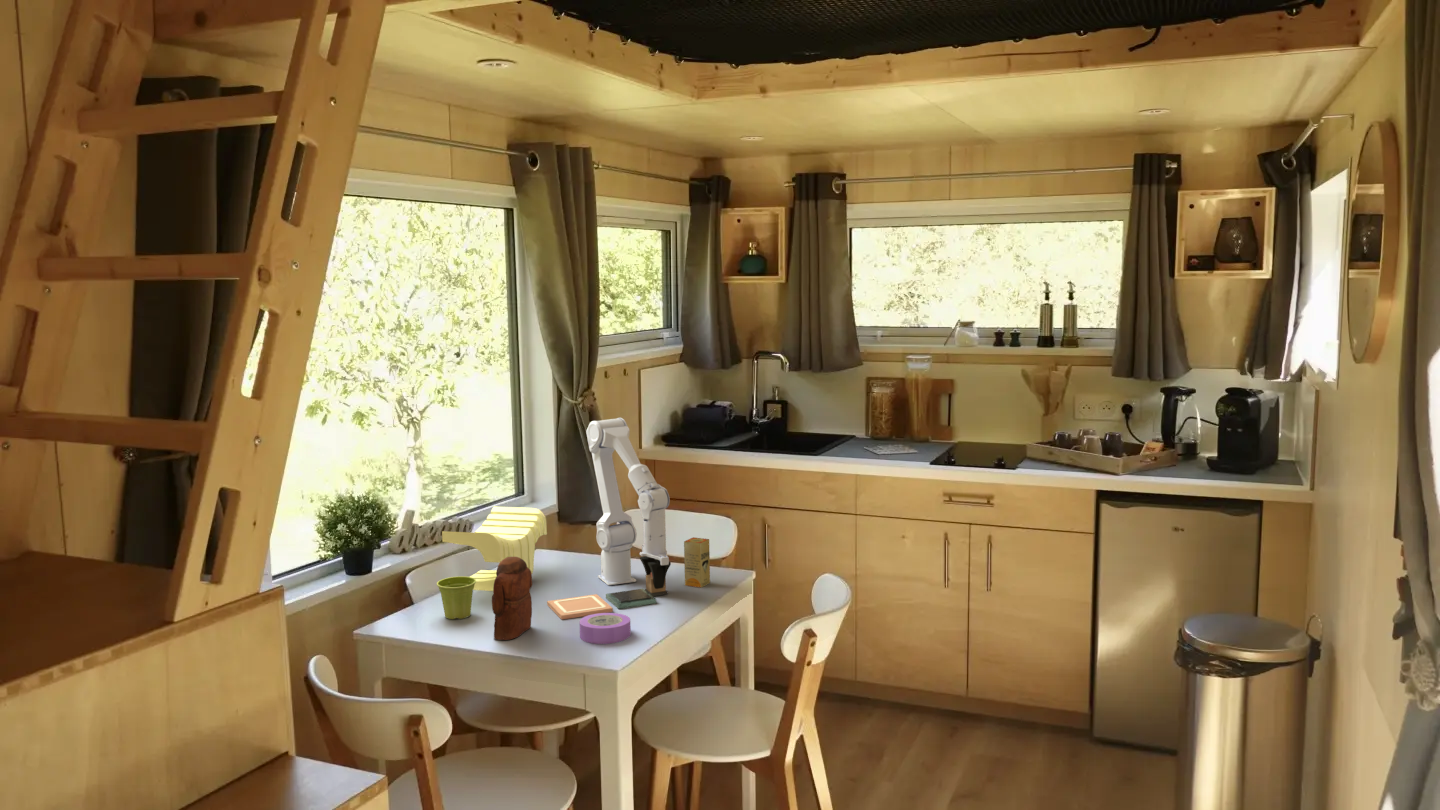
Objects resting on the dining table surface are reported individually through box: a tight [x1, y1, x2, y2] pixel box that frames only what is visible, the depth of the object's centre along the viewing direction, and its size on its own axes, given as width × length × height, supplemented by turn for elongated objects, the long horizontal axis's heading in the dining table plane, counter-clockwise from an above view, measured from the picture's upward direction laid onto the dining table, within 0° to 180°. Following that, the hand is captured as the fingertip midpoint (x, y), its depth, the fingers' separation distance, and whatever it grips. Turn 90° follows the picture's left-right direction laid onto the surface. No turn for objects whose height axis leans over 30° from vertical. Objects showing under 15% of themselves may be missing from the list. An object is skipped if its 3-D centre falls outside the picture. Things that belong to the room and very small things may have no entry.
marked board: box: [546, 593, 614, 621], centre depth 267 cm, size 13×13×1 cm
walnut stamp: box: [644, 572, 668, 597], centre depth 278 cm, size 5×5×6 cm
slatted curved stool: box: [441, 506, 548, 592], centre depth 289 cm, size 30×16×18 cm, turn 166°
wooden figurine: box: [491, 557, 533, 641], centre depth 248 cm, size 12×6×18 cm, turn 164°
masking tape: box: [579, 612, 632, 645], centre depth 247 cm, size 12×12×4 cm
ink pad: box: [605, 588, 657, 610], centre depth 272 cm, size 10×10×2 cm
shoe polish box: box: [683, 537, 711, 589], centre depth 286 cm, size 5×5×12 cm
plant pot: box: [436, 575, 476, 620], centre depth 262 cm, size 9×9×9 cm
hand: (655, 585), depth 278 cm, fingers closed on walnut stamp, 4 cm apart
